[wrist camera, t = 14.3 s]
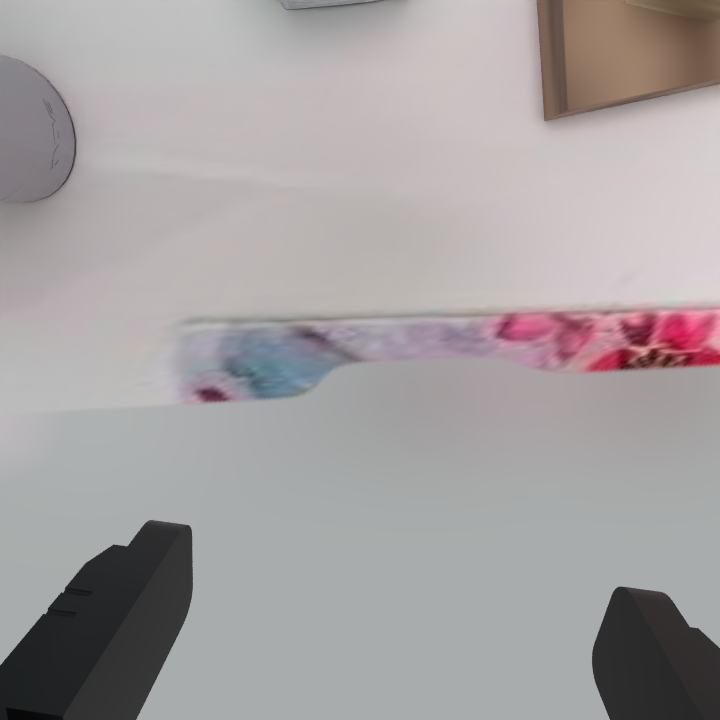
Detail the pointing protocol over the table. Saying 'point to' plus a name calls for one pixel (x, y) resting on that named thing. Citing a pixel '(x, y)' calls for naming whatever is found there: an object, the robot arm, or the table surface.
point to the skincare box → (317, 3)
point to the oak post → (683, 8)
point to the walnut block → (620, 54)
